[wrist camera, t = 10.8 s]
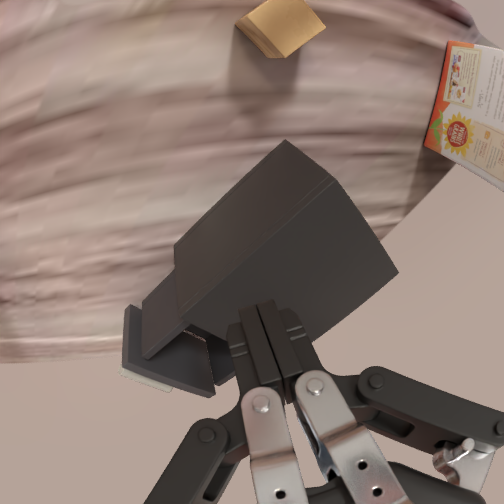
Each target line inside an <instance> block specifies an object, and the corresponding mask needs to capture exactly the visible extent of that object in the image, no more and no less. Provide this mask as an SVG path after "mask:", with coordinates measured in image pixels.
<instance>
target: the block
mask: <svg viewBox="0 0 504 504" xmlns="http://www.w3.org/2000/svg"><path fill="white" fill-rule="evenodd" d="M235 25H236V26H237V27H238V28H239V29H240V30H241V31H242V32H243V33H244V34H245V35H246V36H247V37H248V38H249V39H250V40H251V41H252V42H253V43H254V44H255V45H256V46H257V47H258V48H259V49H260V50H261V51H262V52H263V53H264V55H265V56H266V57H267V58H286V57H288V56H289V55H290V54H292V53H293V52H294V51H296V50H297V49H298V48H299V47H301V46H302V45H303V44H305V43H306V42H307V41H309V40H310V39H312V38H313V37H314V36H316V35H317V34H319V33H320V32H321V31H323V30H324V29H326V27H325V25H324V24H323V23H322V22H321V20H320V19H319V18H318V17H317V16H316V14H315V13H314V12H313V11H312V10H311V8H310V7H309V6H308V5H307V4H306V3H305V1H304V0H266V1H264V2H263V3H261V4H260V5H259V6H257V7H256V8H254V9H253V10H252V11H250V12H249V13H247V14H246V15H245V16H243V17H242V18H241V19H239V20H238V21H237V22H235Z"/></svg>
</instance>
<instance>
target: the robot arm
mask: <svg viewBox="0 0 504 504" xmlns="http://www.w3.org/2000/svg"><path fill="white" fill-rule="evenodd" d="M256 308H257V309H256ZM238 313H239V316H240V320H241V322H238V323H234V324H231V325H228V330H227V334H226V339H227V343H228V347H229V351H230V355H231V359H232V363H233V367H234V371H235V375H236V378H237V382H238V386H239V390H240V397H239V401H238V403H237V405H236V406H235V407H234V408H233V409H232V410H231V411H230V412H228V413H227V414H225V415H224V416H222V417H220V418H218V419H216V420H215V419H211V418H205V419H201V420H199V421H197V422H196V423H194V424H193V425H192V426H191V428H190V429H189V431H188V433H187V434H186V436H185V438H184V439H183V441H182V443H181V444H180V446H179V448H178V449H177V451H176V452H175V454H174V456H173V457H172V459H171V461H170V462H169V464H168V466H167V467H166V469H165V470H164V472H163V474H162V475H161V477H160V479H159V480H158V482H157V483H156V485H155V486H154V488H153V490H152V491H151V493H150V494H149V496H148V498H147V499H146V500H145V502H144V504H217V503H218V501H219V499H220V497H221V496H222V494H223V492H224V490H225V489H226V487H227V485H228V483H229V481H230V480H231V478H232V476H233V474H234V472H235V470H236V468H237V466H238V464H239V463H240V461H241V460H242V459H243V458H245V457H247V456H248V455H250V469H251V474H252V479H253V484H254V489H255V494H256V499H257V504H486V502H485V500H484V499H483V497H482V496H481V495H480V492H481V489H482V487H483V484H484V482H485V479H486V476H487V474H488V471H489V468H490V465H491V462H492V460H493V457H494V454H495V451H496V450H497V449H498V448H500V447H502V446H503V445H504V412H501V411H498V410H495V409H492V408H489V407H486V406H483V405H480V404H477V403H475V402H471V401H469V400H466V399H463V398H460V397H458V396H455V395H452V394H449V393H447V392H444V391H442V390H439V389H436V388H434V387H431V386H429V385H426V384H423V383H421V382H418V381H416V380H413V379H411V378H408V377H406V376H403V375H401V374H398V373H396V372H393V371H391V370H388V369H386V368H383V367H380V366H373V367H369V368H367V369H365V370H364V371H362V372H361V374H360V375H350V376H338V375H334V374H331V373H330V372H328V371H326V370H325V369H324V367H323V366H322V364H321V363H320V360H319V358H318V356H317V354H316V352H315V350H314V348H313V345H312V343H311V341H310V339H309V337H308V336H307V333H306V331H305V329H304V327H303V324H302V322H301V320H300V318H299V316H298V315H297V314H296V313H295V312H294V311H292V310H291V309H290V308H286V309H283V310H280V311H278V309H277V306H276V304H275V302H274V300H273V299H271V300H268V301H264V302H261V303H257V304H256V306H255V304H254V305H250V306H247V307H243V308H240V309H238ZM284 397H285V398H284ZM285 400H286V402H287V404H290V403H293V405H294V407H295V410H296V412H297V419H298V421H299V423H300V425H301V428H302V430H303V432H304V434H305V436H306V438H307V440H308V442H309V444H310V446H311V448H312V450H313V452H314V454H315V457H316V459H317V463H318V466H319V468H320V470H321V472H322V474H323V476H324V478H325V480H326V484H325V485H323V486H320V487H312V488H305V487H304V483H303V479H302V476H301V472H300V468H299V464H298V461H297V457H296V454H295V451H294V448H293V444H292V440H291V436H290V432H289V429H288V425H287V421H286V416H285V409H284V405H285ZM368 429H369V430H372V431H374V432H376V433H379V434H381V435H383V436H386V437H388V438H390V439H393V440H395V441H398V442H400V443H403V444H405V445H408V446H410V447H413V448H416V449H418V450H421V451H423V452H426V453H429V454H432V455H433V465H434V468H435V469H436V470H437V471H438V472H440V473H442V474H443V475H444V476H445V477H446V479H447V481H448V482H446V481H443V480H440V479H438V478H435V477H432V476H430V475H427V474H425V473H422V472H420V471H417V470H415V469H413V468H410V467H408V466H405V465H403V464H400V463H397V462H390V461H386V459H385V457H384V456H383V454H382V452H381V450H380V449H379V447H378V445H377V443H376V442H375V440H374V438H373V437H372V435H371V433H370V432H369V430H368Z"/></svg>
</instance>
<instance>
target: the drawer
mask: <svg viewBox="0 0 504 504" xmlns="http://www.w3.org/2000/svg"><path fill="white" fill-rule="evenodd" d="M184 329H186V330H188V331H190V332H192V333H194V334H196V335H198V336H200V337H202V338H204V339H205V340H206V342H204V341H202V340H200V339H198V338H196V337H194V336H192V335H189V334H187V333H185V332H183V330H184ZM206 345H207V346H206ZM207 351H208V352H207ZM208 356H209V357H208ZM209 361H210V362H209ZM210 366H211V367H210ZM211 371H212V372H211ZM118 373H119V375H121V376H124V377H126V378H129V379H131V380H134V381H137V382H139V383H142V384H145V385H148V386H150V387H153V388H156V389H159V390H162V391H165V392H171V391H172V389H173V387H175V388H178V389H181V390H184V391H187V392H190V393H194V394H196V395H200V396H203V397H206V398H211V397H212V396H214V395H215V394H216V392H215V387H214V384H215V385H217V386H220V385H222V384H224V383H225V382H227V381H228V380H230V379H231V378H233V377H234V376H236V375H235V371H234V367H233V363H232V359H231V355H230V351H229V347H228V343H227V341H225V340H223V339H221V338H219V337H217V336H215V335H213V334H211V333H209V332H207V331H205V330H203V329H201V328H199V327H197V326H195V325H193V324H191V323H189V322H187V321H186V320H184V319H182V318H180V317H179V308H178V297H177V286H176V273H175V269H174V270H173V271H172V272H171V273H170V274H169V275H168V276H167V277H166V278H165V279H164V280H163V281H162V282H161V283H160V284H159V285H158V286H157V287H156V288H155V289H154V290H153V291H152V292H151V293H150V294H149V295H148V296H147V297H146V298H145V299H144V300H143V302H142V310H141V309H139V308H137V307H135V306H133V305H131V304H130V305H129V306H128V307H127V308H126V309H125V315H124V329H123V347H122V364H121V365H120V367H119V370H118ZM212 376H213V377H212ZM213 381H214V382H213Z"/></svg>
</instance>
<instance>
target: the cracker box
mask: <svg viewBox="0 0 504 504" xmlns="http://www.w3.org/2000/svg"><path fill="white" fill-rule="evenodd" d="M424 146H426V147H428V148H429V149H431V150H433V151H435V152H437V153H439V154H441V155H443V156H445V157H447V158H448V159H450V160H452V161H454V162H456V163H457V164H459V165H461V166H463V167H464V168H466V169H468V170H469V171H471V172H473V173H474V174H476V175H478V176H479V177H481V178H483V179H484V180H486V181H487V182H489V183H491V184H492V185H494V186H495V187H497V188H498V189H500V190H501V191H503V192H504V50H500V49H496V48H491V47H487V46H481V45H476V44H471V43H464V42H458V41H448V46H447V52H446V57H445V62H444V67H443V72H442V77H441V81H440V86H439V90H438V94H437V99H436V102H435V106H434V110H433V114H432V118H431V121H430V125H429V129H428V132H427V135H426V139H425V142H424Z"/></svg>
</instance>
